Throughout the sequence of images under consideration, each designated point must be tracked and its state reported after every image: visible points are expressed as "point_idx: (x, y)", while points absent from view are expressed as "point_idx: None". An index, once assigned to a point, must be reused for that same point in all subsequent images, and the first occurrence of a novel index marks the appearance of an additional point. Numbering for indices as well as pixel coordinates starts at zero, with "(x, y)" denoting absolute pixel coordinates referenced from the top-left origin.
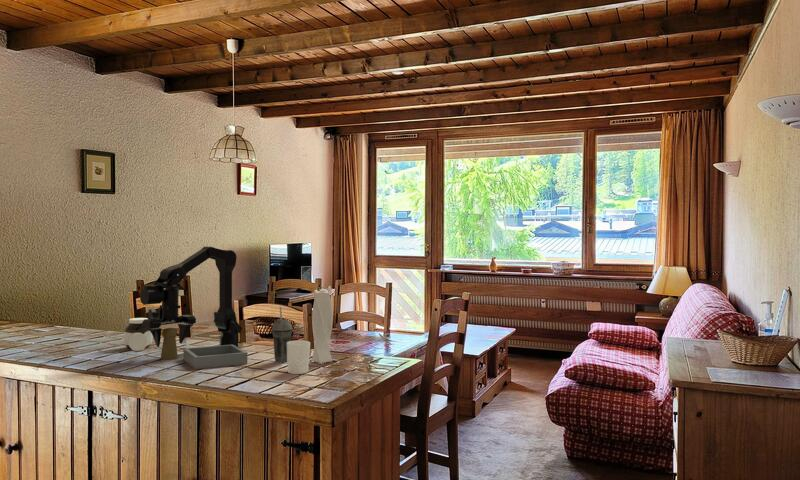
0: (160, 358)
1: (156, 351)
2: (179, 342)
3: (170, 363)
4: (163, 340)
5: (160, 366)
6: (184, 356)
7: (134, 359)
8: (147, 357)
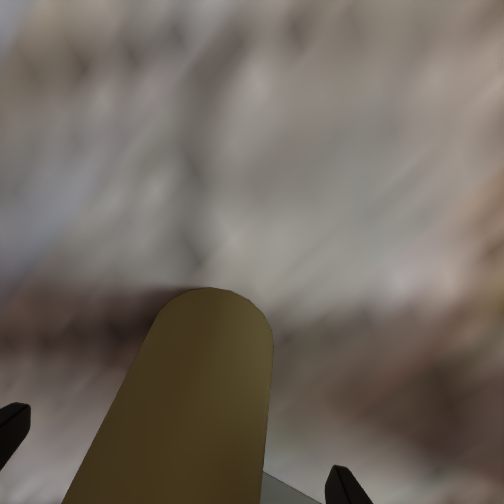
0: (158, 313)
1: (399, 11)
2: (335, 473)
3: None
4: (68, 490)
5: (7, 464)
6: None
7: (19, 146)
8: (138, 180)
